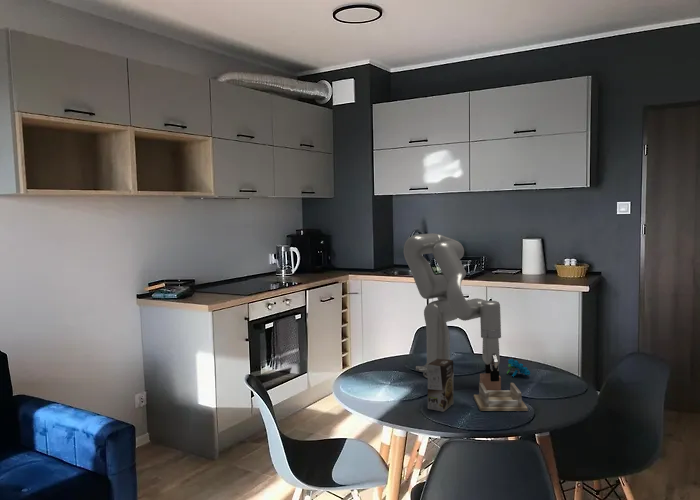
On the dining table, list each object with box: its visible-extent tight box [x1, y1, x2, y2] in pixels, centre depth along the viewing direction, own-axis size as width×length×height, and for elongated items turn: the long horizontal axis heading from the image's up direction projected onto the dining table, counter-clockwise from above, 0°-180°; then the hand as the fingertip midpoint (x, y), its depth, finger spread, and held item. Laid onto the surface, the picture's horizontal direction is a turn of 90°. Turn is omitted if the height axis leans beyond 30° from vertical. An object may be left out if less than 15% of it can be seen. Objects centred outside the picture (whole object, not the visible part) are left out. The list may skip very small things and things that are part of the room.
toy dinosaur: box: [506, 358, 531, 378], centre depth 234 cm, size 11×6×10 cm
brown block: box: [479, 373, 502, 390], centre depth 218 cm, size 7×5×6 cm
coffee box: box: [427, 359, 454, 413], centre depth 200 cm, size 9×6×16 cm
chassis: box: [473, 382, 529, 412], centre depth 202 cm, size 16×14×6 cm
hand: (492, 377), depth 218 cm, fingers open, 9 cm apart
